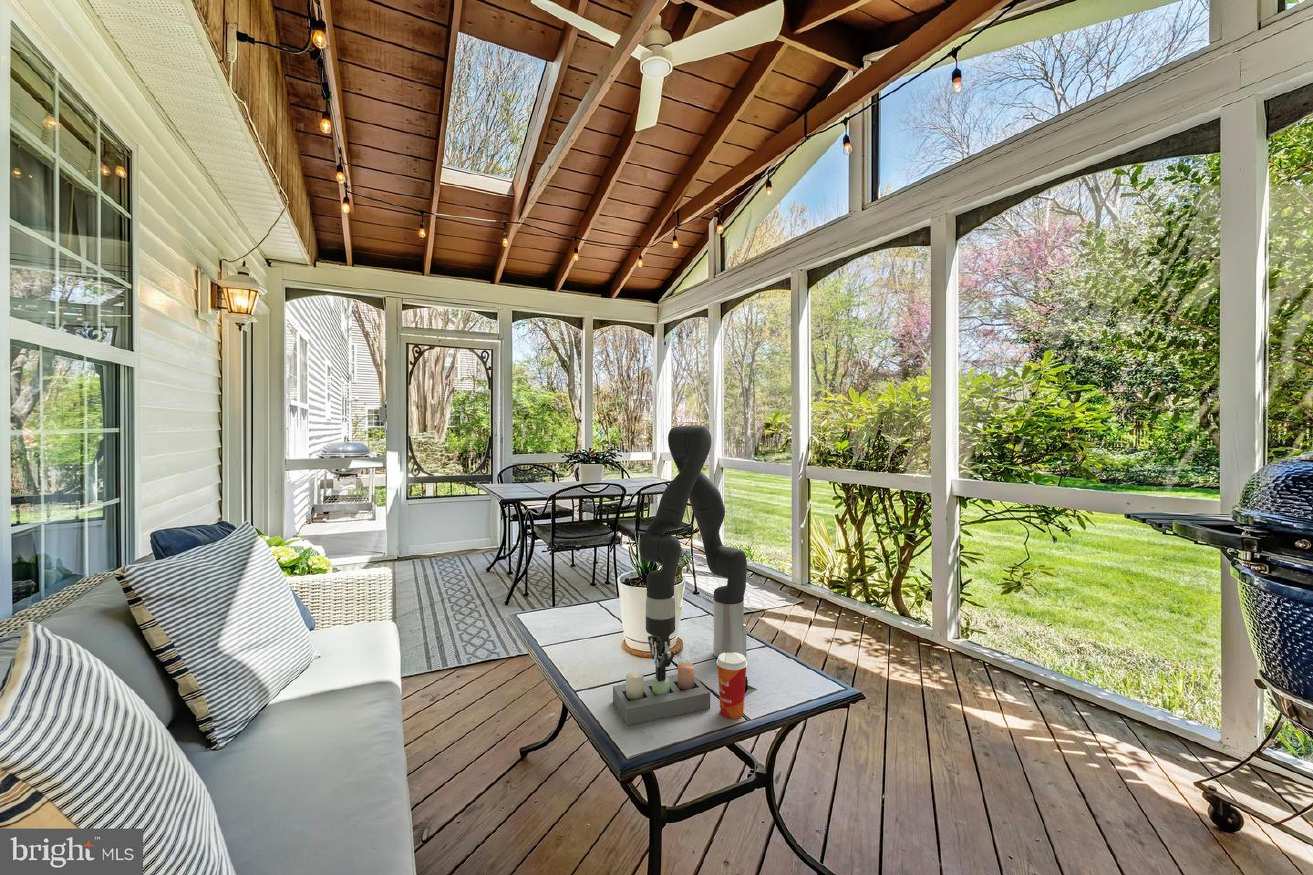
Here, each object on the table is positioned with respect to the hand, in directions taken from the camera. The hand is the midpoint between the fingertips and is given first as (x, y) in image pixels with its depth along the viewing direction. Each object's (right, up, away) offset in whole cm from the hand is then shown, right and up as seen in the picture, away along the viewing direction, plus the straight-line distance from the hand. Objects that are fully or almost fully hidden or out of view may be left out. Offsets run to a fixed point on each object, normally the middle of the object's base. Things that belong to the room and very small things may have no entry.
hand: (660, 679), depth 142 cm
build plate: (+21, -7, +7) cm, 23 cm away
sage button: (0, -5, 0) cm, 5 cm away
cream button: (-7, -3, -2) cm, 7 cm away
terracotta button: (+7, -3, +3) cm, 8 cm away
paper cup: (+18, -7, -4) cm, 19 cm away
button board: (0, -7, 0) cm, 7 cm away
